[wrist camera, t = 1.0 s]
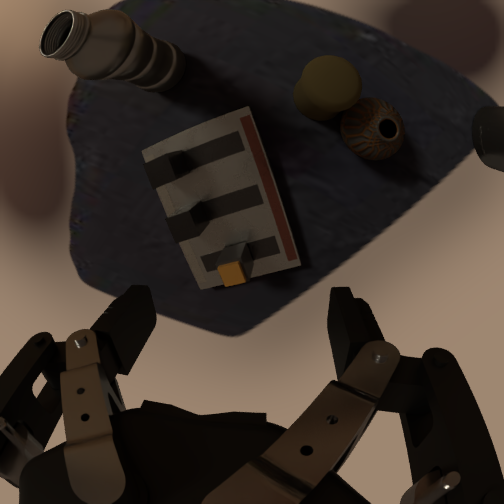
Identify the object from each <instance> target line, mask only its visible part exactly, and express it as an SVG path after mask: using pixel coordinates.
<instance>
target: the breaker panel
mask: <svg viewBox="0 0 504 504" xmlns="http://www.w3.org/2000/svg"><path fill="white" fill-rule="evenodd" d="M142 154H143V156H144V159H145V162H146V163H145V164H143V165H144V168H145V170H146V173H147V176H148V178H149V181H150V183H151V186H152V188H153V189H156V190H157V192H158V195H159V197H160V200H161V202H162V204H163V207H164V209H165V212H166V214H167V216H168V217H167V218H166V219H165V220H166V222H167V224H168V227H169V229H170V231H171V233H172V236H173V238H174V240H175V242H176V243H179V244H180V246H181V248H182V251H183V253H184V255H185V257H186V260H187V262H188V264H189V266H190V268H191V270H192V273H193V275H194V277H195V279H196V281H197V283H198V285H199V287H200V289H201V290H202V289H206V288H210V287H215V286H219V285H223V281H222V279H221V277H220V275H219V272H218V270H217V268H216V265H215V263H216V261H217V260H218V258H219V256H220V254H221V252H222V250H223V248H226V247H229V246H233V245H236V244H240V243H244V242H246V243H247V246H248V248H249V251H250V254H251V256H252V259H253V262H254V266H253V270H252V274H251V278H252V277H256V276H260V275H264V274H268V273H273V272H277V271H281V270H284V269H288V268H292V267H296V266H300V265H301V258H300V255H299V251H298V248H297V245H296V241H295V238H294V235H293V232H292V228H291V225H290V222H289V219H288V215H287V212H286V209H285V206H284V203H283V200H282V196H281V193H280V190H279V187H278V184H277V181H276V178H275V175H274V172H273V169H272V166H271V163H270V160H269V157H268V154H267V152H266V149H265V146H264V143H263V140H262V137H261V134H260V132H259V129H258V126H257V123H256V120H255V118H254V115H253V112H252V109H251V107H249V106H247V107H244V108H241V109H238V110H236V111H233V112H230V113H227V114H225V115H222V116H219V117H217V118H214V119H212V120H209V121H207V122H204V123H202V124H199V125H197V126H194V127H192V128H190V129H187V130H185V131H183V132H181V133H178V134H176V135H174V136H172V137H170V138H167V139H165V140H163V141H161V142H159V143H157V144H155V145H153V146H151V147H149V148H147V149H145V150H143V151H142Z"/></svg>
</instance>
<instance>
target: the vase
mask: <svg viewBox="0 0 504 504" xmlns="http://www.w3.org/2000/svg"><path fill="white" fill-rule="evenodd" d="M340 131H341V135H342V138H343V140H344V142H345V144H346V145H347V147H348V148H349V149H350V150H351V151H352V152H354V153H355V154H356V155H358V156H360V157H362V158H365V159H368V160H383V159H386V158H388V157H390V156H392V155H393V154H395V153H396V152H397V151H398V150H399V148H400V147H401V145H402V143H403V140H404V135H405V128H404V123H403V120H402V118H401V116H400V114H399V113H398V112H397V110H396V109H395V108H394V107H393V106H391V105H390V104H389V103H387V102H385V101H383V100H381V99H377V98H362V99H359V100H358V101H357V102H356V104H354V105H353V106H352V107H350V108H349V109H347V110H345V111H344V112H343V114H342V117H341V121H340Z"/></svg>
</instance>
